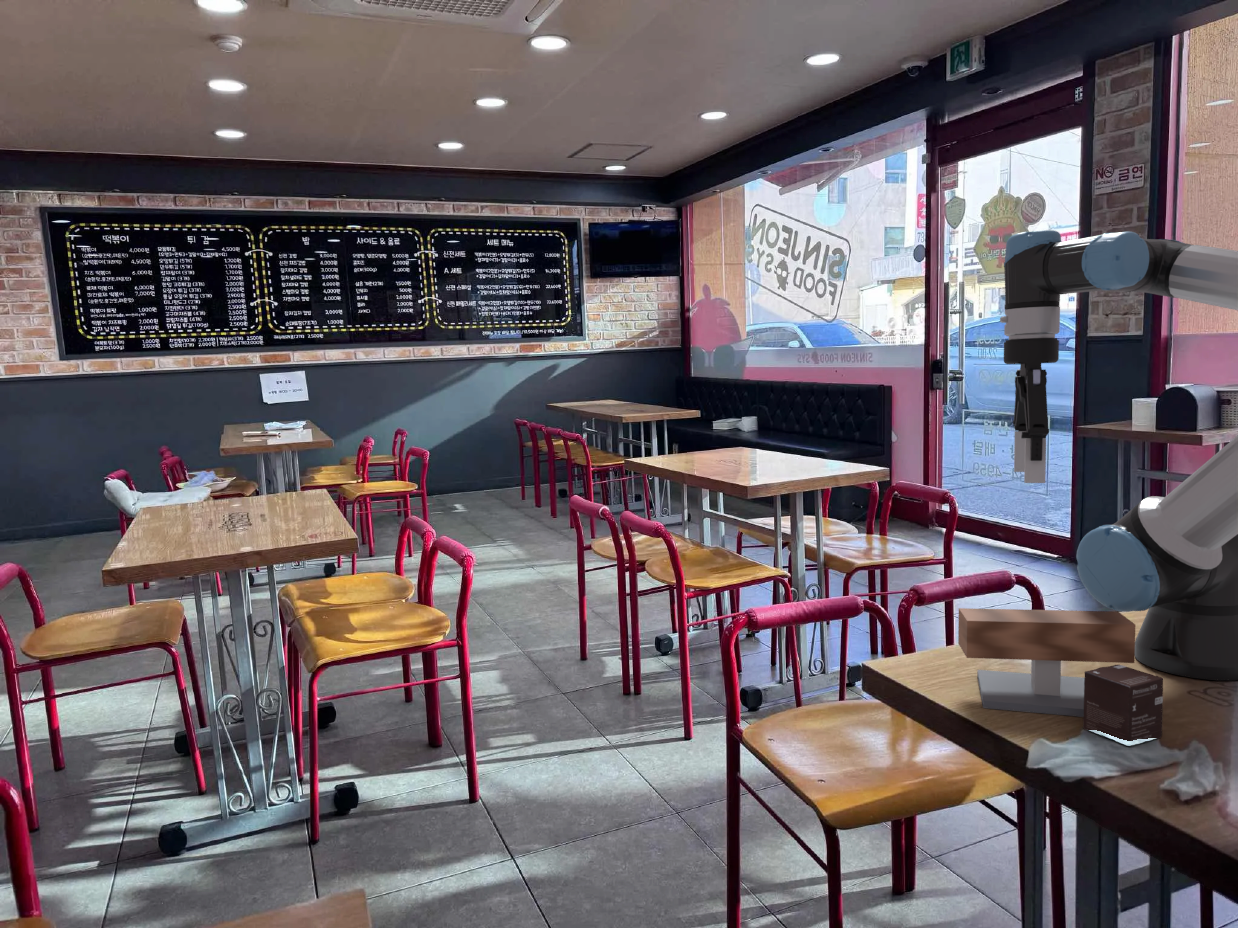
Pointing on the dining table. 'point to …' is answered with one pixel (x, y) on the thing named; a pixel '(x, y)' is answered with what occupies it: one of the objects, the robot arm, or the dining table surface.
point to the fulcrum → (1033, 690)
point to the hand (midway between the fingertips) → (1028, 477)
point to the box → (1123, 702)
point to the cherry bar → (1046, 635)
